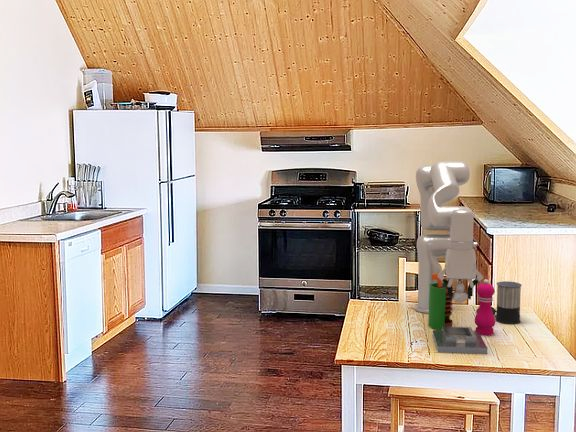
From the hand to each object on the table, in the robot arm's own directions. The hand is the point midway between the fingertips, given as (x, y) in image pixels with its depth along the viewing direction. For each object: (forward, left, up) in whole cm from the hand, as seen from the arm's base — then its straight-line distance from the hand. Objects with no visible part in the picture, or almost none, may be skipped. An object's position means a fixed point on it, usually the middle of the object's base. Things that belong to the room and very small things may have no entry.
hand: (459, 297), depth 216 cm
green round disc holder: (-21, -4, -17) cm, 27 cm away
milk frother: (-33, +19, -17) cm, 42 cm away
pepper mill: (-14, +11, -17) cm, 24 cm away
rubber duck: (0, 0, -2) cm, 2 cm away
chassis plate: (0, 0, -16) cm, 16 cm away
